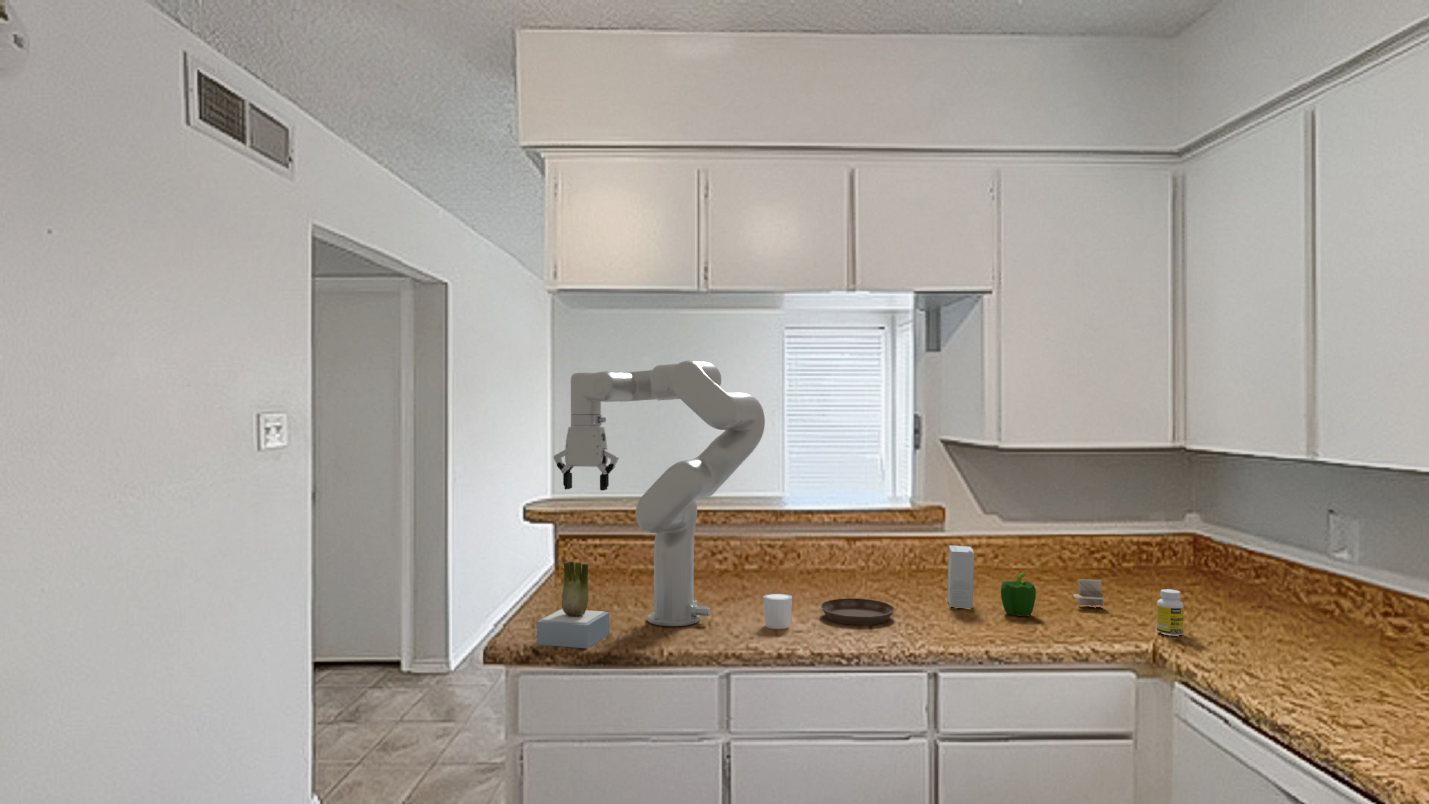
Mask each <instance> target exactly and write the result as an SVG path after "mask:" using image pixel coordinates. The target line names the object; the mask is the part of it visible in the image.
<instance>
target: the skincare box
mask: <svg viewBox="0 0 1429 804" xmlns="http://www.w3.org/2000/svg"><path fill="white" fill-rule="evenodd" d="M947 573H948V574H947V576H948V577H947V603H948V606H949V608H950V607H958V608H973V609H974V583H975V582H974V581H975V579H974V578H975V577H974V576H975V552H974V548H972V547H971V546H969V545H968V546H965V545H949V546H948V572H947Z"/></svg>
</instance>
